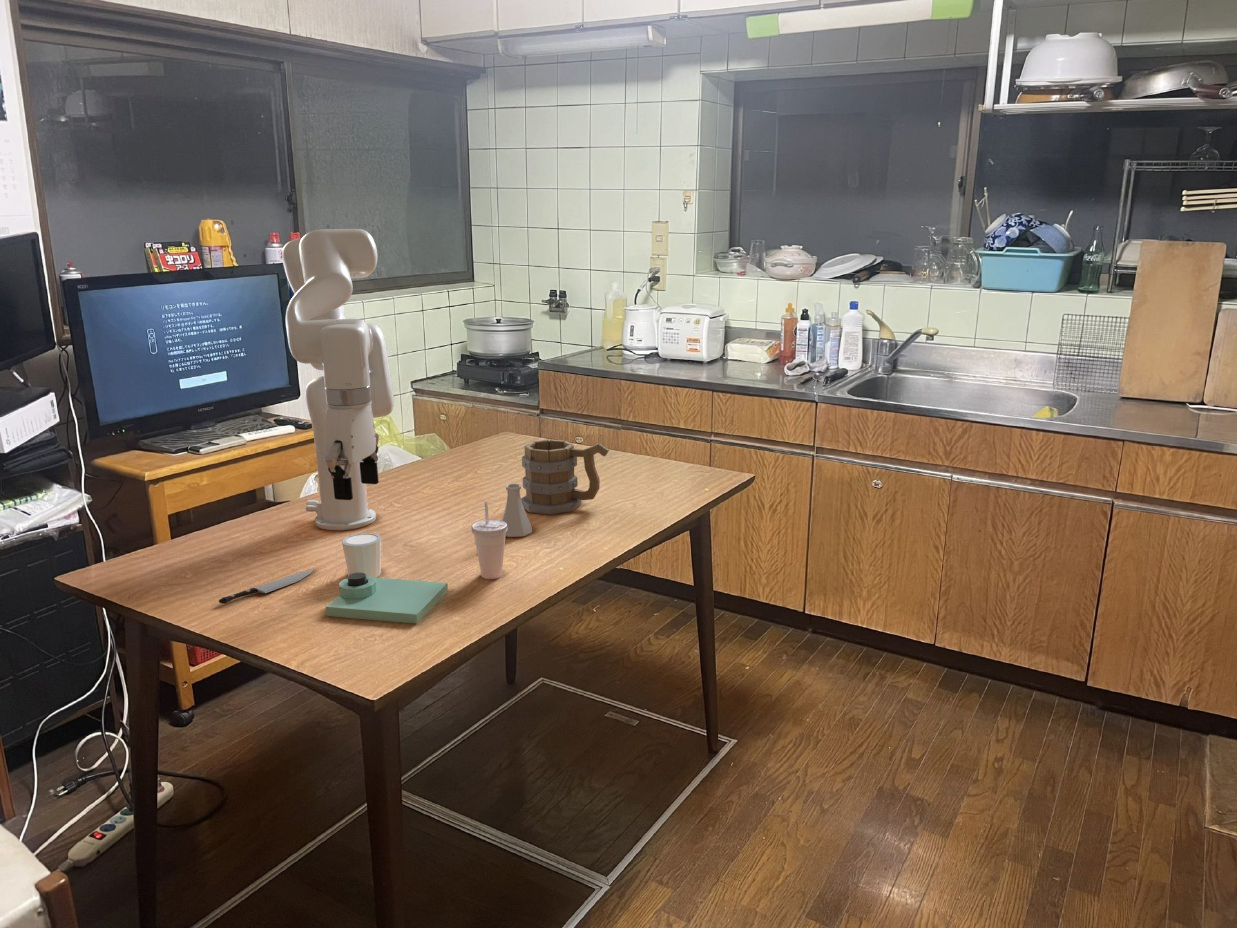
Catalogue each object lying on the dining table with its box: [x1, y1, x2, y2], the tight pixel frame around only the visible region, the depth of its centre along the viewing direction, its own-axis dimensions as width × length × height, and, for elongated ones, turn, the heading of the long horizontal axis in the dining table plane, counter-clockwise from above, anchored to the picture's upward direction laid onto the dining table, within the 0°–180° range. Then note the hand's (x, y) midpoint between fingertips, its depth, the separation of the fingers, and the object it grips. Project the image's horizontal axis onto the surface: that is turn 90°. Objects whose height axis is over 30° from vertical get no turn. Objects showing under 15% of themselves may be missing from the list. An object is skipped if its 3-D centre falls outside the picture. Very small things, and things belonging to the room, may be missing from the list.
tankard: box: [521, 439, 610, 516], centre depth 202 cm, size 20×13×15 cm, turn 71°
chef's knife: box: [218, 568, 314, 604], centre depth 161 cm, size 19×1×3 cm
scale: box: [325, 576, 449, 625], centre depth 154 cm, size 16×13×4 cm
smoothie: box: [471, 500, 508, 580], centre depth 164 cm, size 6×6×14 cm
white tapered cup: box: [341, 532, 382, 578], centre depth 166 cm, size 7×7×7 cm
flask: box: [500, 483, 533, 538], centre depth 187 cm, size 7×7×10 cm
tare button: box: [347, 573, 367, 587], centre depth 154 cm, size 3×3×2 cm
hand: (357, 491), depth 162 cm, fingers open, 9 cm apart
